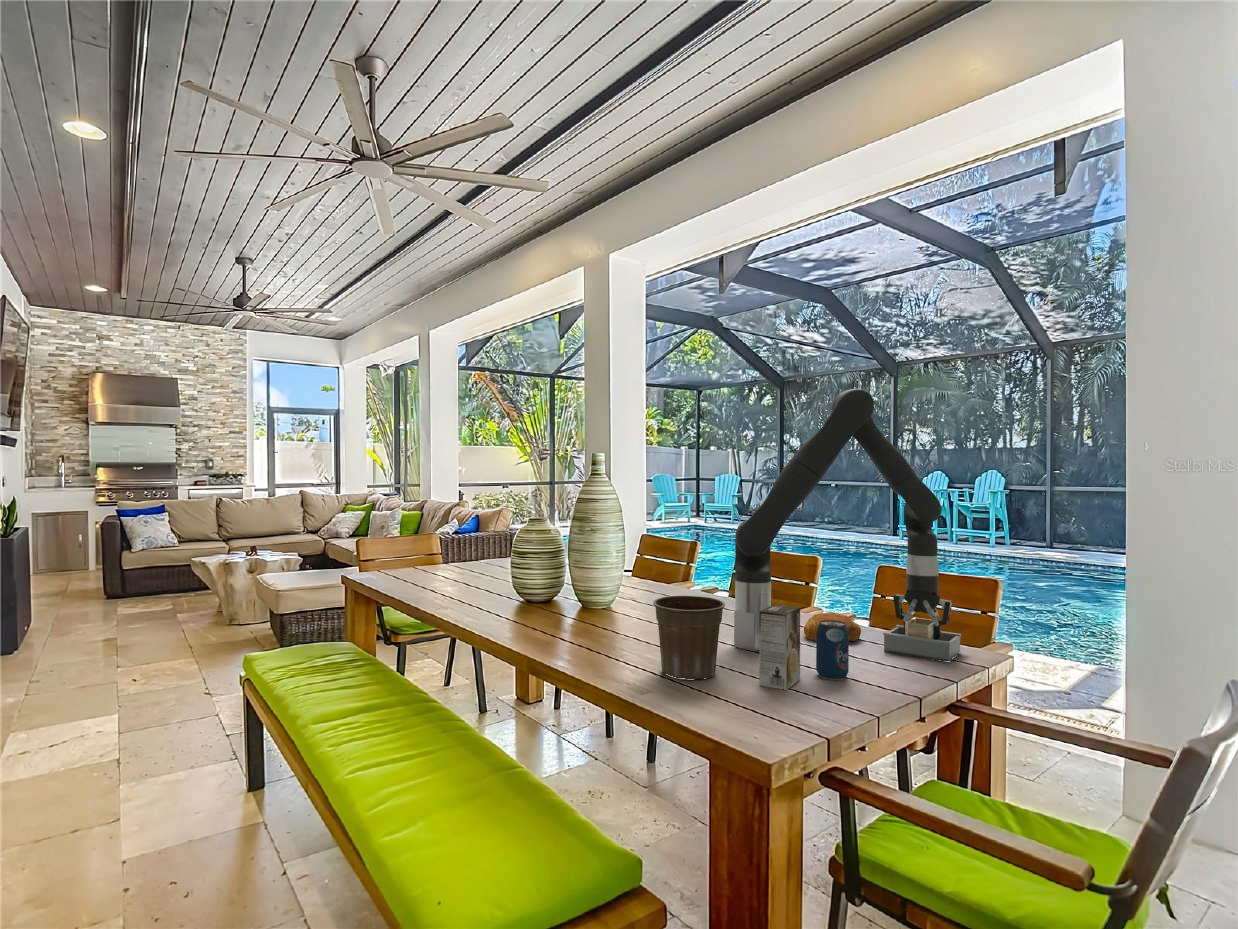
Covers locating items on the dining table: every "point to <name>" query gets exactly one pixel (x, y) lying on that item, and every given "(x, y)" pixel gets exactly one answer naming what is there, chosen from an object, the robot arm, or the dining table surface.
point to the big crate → (922, 645)
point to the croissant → (814, 621)
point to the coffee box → (779, 646)
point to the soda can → (832, 650)
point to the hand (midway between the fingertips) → (922, 638)
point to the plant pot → (688, 635)
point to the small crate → (919, 628)
